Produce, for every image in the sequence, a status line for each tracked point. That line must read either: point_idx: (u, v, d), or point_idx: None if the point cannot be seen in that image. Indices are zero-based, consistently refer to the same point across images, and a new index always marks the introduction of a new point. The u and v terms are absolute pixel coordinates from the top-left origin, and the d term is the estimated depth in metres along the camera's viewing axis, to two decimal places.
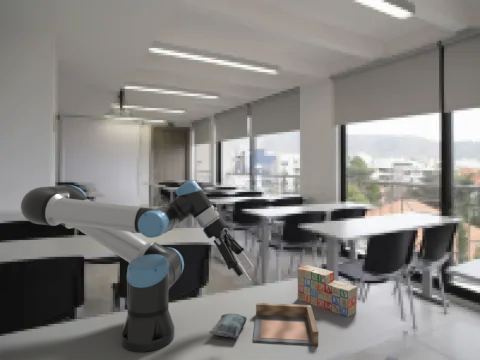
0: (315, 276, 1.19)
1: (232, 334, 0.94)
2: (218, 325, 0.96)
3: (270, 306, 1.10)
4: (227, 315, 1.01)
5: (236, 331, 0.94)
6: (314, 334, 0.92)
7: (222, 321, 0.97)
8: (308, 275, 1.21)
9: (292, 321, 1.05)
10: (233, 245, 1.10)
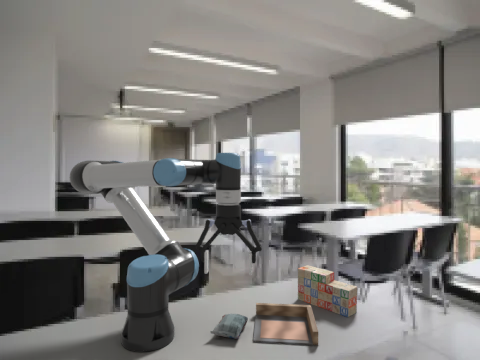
0: (316, 276, 1.19)
1: (233, 334, 0.94)
2: (219, 325, 0.96)
3: (270, 306, 1.10)
4: (228, 315, 1.01)
5: (237, 331, 0.94)
6: (314, 334, 0.92)
7: (223, 321, 0.97)
8: (308, 275, 1.21)
9: (292, 321, 1.05)
10: None
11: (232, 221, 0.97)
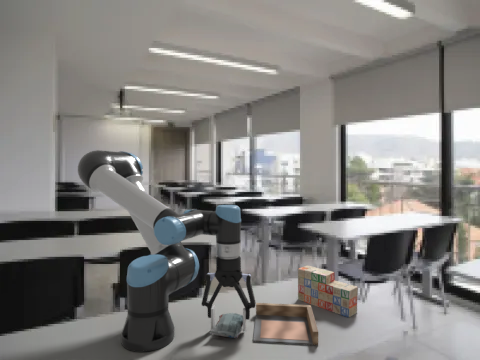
0: (316, 276, 1.18)
1: (233, 334, 0.94)
2: (218, 325, 0.96)
3: (270, 306, 1.10)
4: (226, 315, 1.01)
5: (237, 330, 0.94)
6: (314, 334, 0.92)
7: (222, 321, 0.97)
8: (309, 275, 1.21)
9: (292, 321, 1.05)
10: None
11: (233, 272, 0.98)
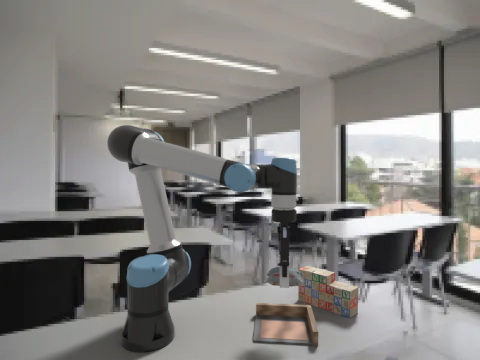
0: (317, 276, 1.18)
1: None
2: (297, 275, 0.96)
3: (270, 306, 1.10)
4: None
5: None
6: (314, 334, 0.92)
7: (293, 272, 0.97)
8: (309, 276, 1.20)
9: (292, 321, 1.05)
10: None
11: None
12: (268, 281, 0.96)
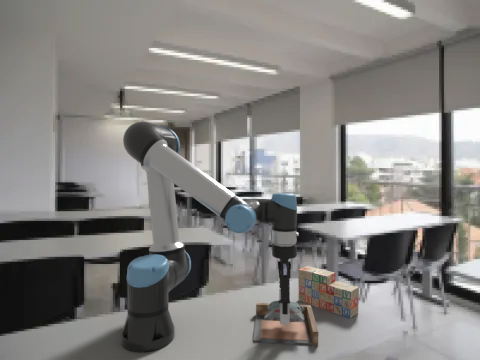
0: (317, 277, 1.18)
1: None
2: (298, 311, 0.97)
3: None
4: None
5: (300, 305, 1.02)
6: (314, 334, 0.92)
7: (293, 307, 0.98)
8: (309, 276, 1.20)
9: None
10: None
11: None
12: (269, 317, 0.96)
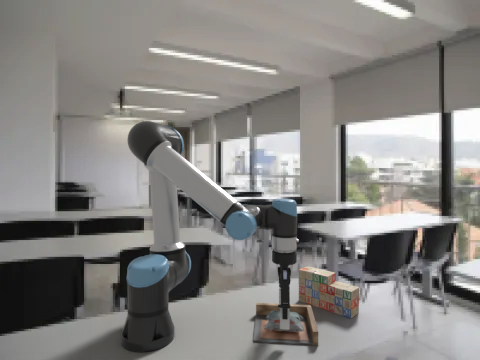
0: (317, 277, 1.18)
1: None
2: (297, 321, 0.97)
3: (270, 306, 1.10)
4: None
5: (299, 315, 1.03)
6: (314, 334, 0.92)
7: (292, 317, 0.98)
8: (310, 276, 1.20)
9: None
10: None
11: None
12: (268, 327, 0.97)
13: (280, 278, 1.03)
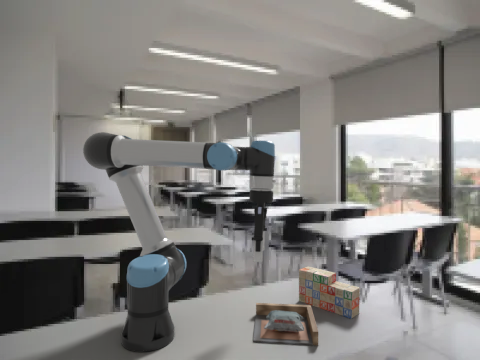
0: (318, 277, 1.17)
1: None
2: (297, 321, 0.97)
3: (270, 306, 1.10)
4: (280, 315, 0.99)
5: (299, 315, 1.03)
6: (314, 334, 0.92)
7: (293, 317, 0.98)
8: (310, 276, 1.20)
9: None
10: None
11: (264, 205, 1.04)
12: (268, 327, 0.97)
13: None
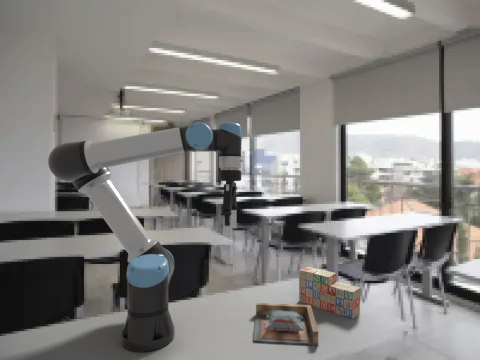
0: (318, 277, 1.17)
1: None
2: (298, 320, 0.97)
3: (270, 306, 1.10)
4: (280, 315, 0.99)
5: (299, 314, 1.03)
6: (314, 334, 0.92)
7: (293, 317, 0.98)
8: (310, 277, 1.19)
9: None
10: (233, 200, 1.14)
11: None
12: (269, 327, 0.97)
13: None
